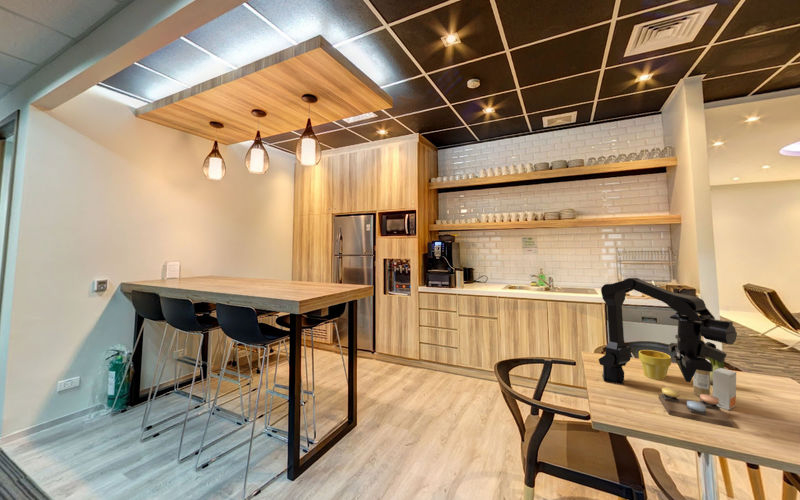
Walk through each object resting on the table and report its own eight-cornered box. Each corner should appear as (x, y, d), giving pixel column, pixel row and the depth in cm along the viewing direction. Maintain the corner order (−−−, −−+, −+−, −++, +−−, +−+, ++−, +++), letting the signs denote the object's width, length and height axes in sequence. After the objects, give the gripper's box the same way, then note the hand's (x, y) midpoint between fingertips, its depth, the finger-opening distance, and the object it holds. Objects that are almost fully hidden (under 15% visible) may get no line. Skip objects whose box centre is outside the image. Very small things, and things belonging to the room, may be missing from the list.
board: (668, 414, 99) (668, 407, 99) (658, 398, 109) (658, 391, 109) (733, 427, 92) (733, 419, 92) (715, 408, 102) (715, 401, 102)
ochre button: (663, 398, 105) (664, 391, 105) (660, 392, 108) (660, 386, 108) (680, 401, 102) (680, 394, 102) (676, 395, 106) (676, 389, 106)
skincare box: (729, 411, 101) (730, 375, 101) (712, 405, 105) (712, 370, 104) (736, 406, 104) (736, 371, 103) (719, 400, 107) (719, 367, 107)
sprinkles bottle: (711, 396, 111) (712, 359, 111) (708, 399, 108) (708, 362, 108) (694, 391, 114) (695, 355, 114) (691, 394, 112) (691, 358, 112)
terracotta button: (703, 405, 100) (703, 398, 100) (697, 399, 104) (697, 392, 104) (721, 408, 98) (721, 401, 98) (715, 402, 102) (715, 395, 102)
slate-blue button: (689, 412, 97) (689, 405, 97) (684, 406, 101) (684, 399, 101) (708, 416, 95) (708, 409, 95) (702, 409, 99) (702, 402, 99)
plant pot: (643, 380, 124) (643, 356, 124) (635, 370, 134) (635, 348, 134) (675, 384, 120) (675, 359, 120) (664, 374, 130) (664, 351, 130)
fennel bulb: (727, 389, 116) (727, 358, 116) (710, 386, 118) (710, 356, 118) (717, 382, 122) (718, 353, 122) (702, 380, 124) (702, 351, 123)
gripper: (737, 347, 88) (736, 400, 88) (710, 331, 104) (709, 375, 105) (686, 341, 93) (685, 391, 94) (668, 326, 110) (667, 369, 110)
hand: (687, 381), depth 100 cm, fingers closed
